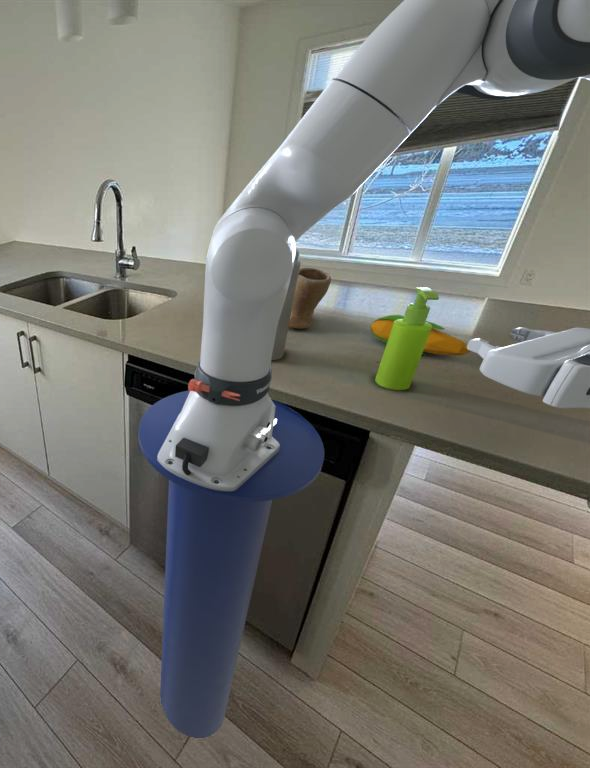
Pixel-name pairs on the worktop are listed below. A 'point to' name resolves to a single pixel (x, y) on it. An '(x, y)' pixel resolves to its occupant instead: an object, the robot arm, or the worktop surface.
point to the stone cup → (308, 296)
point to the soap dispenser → (406, 343)
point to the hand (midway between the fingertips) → (492, 337)
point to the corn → (434, 344)
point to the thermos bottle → (286, 313)
